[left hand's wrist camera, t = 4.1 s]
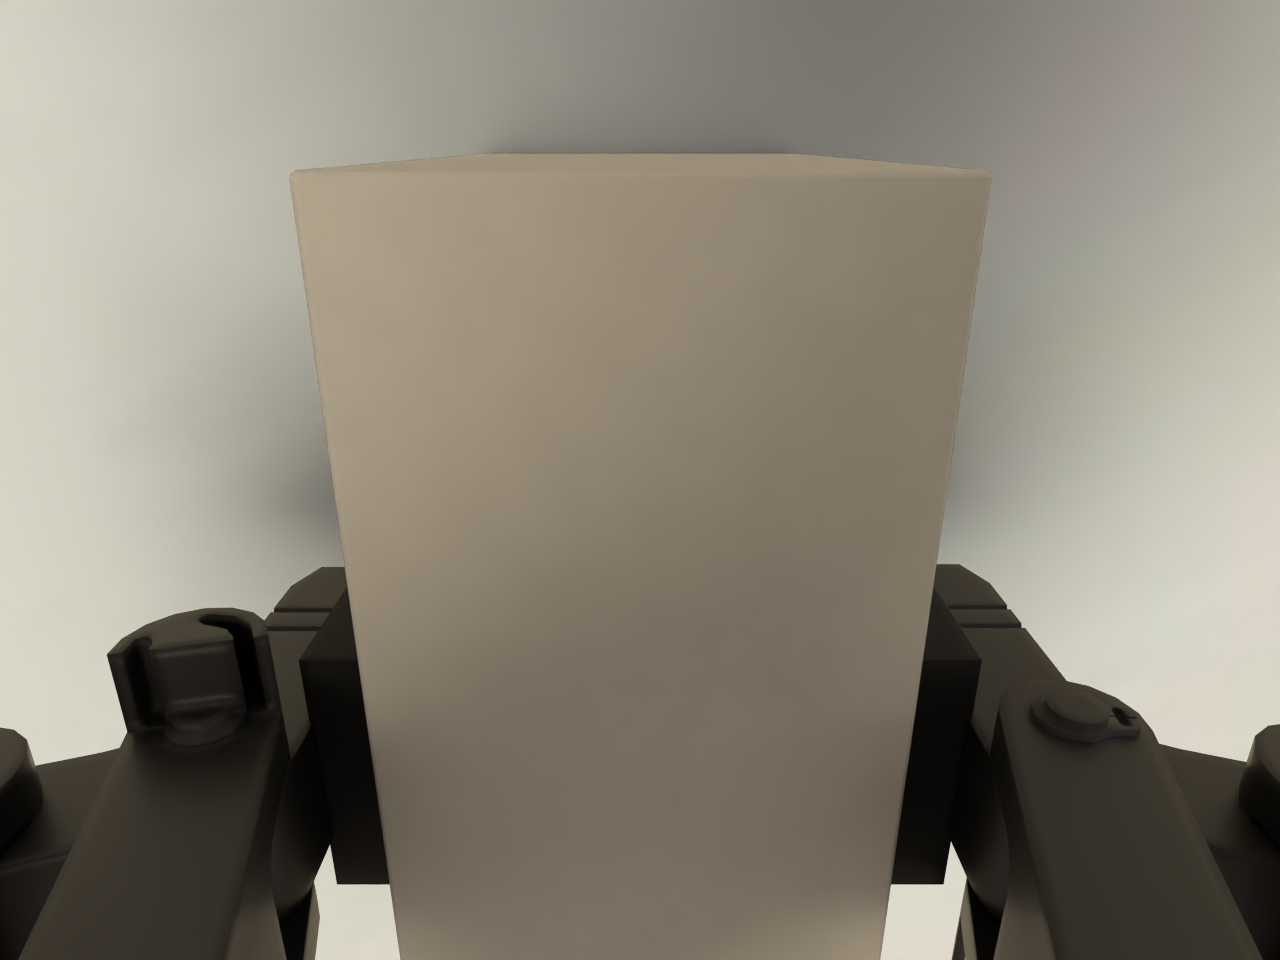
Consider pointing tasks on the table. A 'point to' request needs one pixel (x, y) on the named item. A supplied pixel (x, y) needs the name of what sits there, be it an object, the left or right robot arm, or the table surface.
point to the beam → (640, 533)
